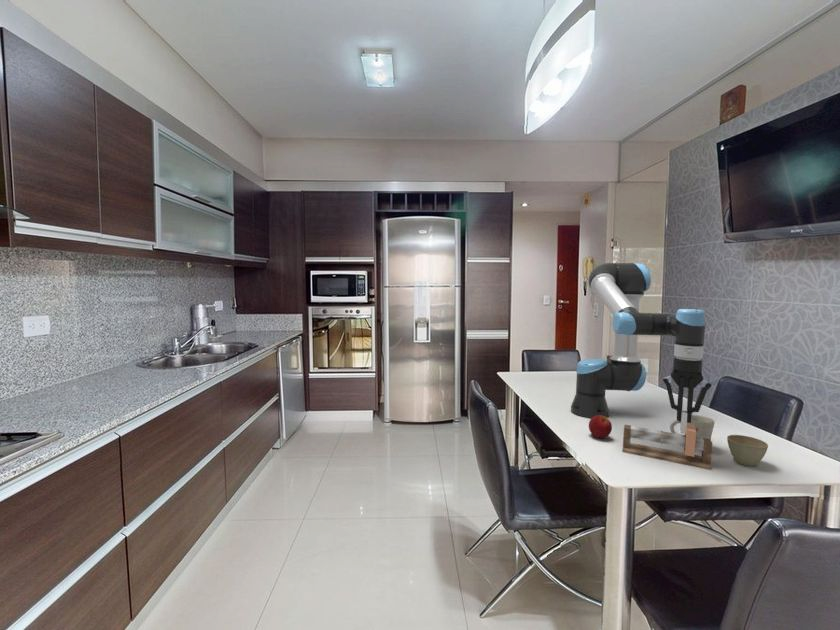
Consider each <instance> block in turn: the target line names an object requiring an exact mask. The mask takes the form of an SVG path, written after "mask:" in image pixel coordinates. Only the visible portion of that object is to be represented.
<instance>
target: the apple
mask: <svg viewBox="0 0 840 630" xmlns="http://www.w3.org/2000/svg"><path fill="white" fill-rule="evenodd" d="M588 430H589V432H590V434H591V435H593V436H594V437H595V438H598V439H604V438H607V437H608V436H610V434H611V433H612V430H613V426H612V422H611V421H610V419H608V417H605V416H602V415H597V416H594V417H593V418H590V420H589V422H588Z"/></svg>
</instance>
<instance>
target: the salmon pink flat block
mask: <svg viewBox="0 0 840 630" xmlns="http://www.w3.org/2000/svg"><path fill="white" fill-rule="evenodd" d="M684 435H686V445H685V447H683V453H685V455H687V456H693V457H694V456H695V455H696V452H695V451H696V449H695V442H696V429H695V426H694V425H690V424H687V427H686V433H684Z"/></svg>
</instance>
